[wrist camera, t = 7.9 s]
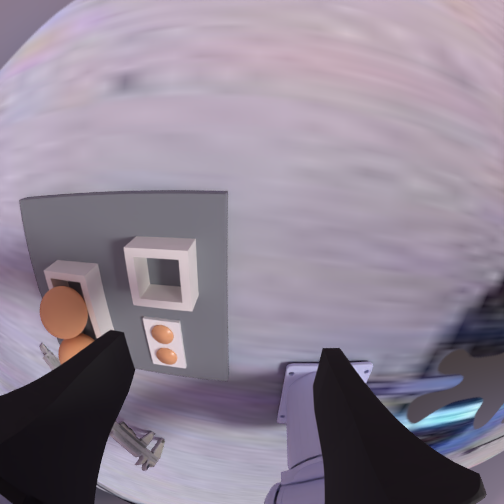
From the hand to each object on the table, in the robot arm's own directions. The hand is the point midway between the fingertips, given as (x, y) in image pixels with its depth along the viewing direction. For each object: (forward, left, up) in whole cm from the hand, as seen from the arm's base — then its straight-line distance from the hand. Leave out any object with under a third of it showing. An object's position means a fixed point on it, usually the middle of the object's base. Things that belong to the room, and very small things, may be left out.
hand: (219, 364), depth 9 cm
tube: (-1, +5, -9) cm, 11 cm away
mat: (-4, +10, -10) cm, 15 cm away
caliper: (-21, +17, -11) cm, 29 cm away
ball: (-4, +13, -6) cm, 15 cm away
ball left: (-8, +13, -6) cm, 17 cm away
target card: (-8, +6, -9) cm, 14 cm away
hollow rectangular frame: (-6, +13, -9) cm, 17 cm away
